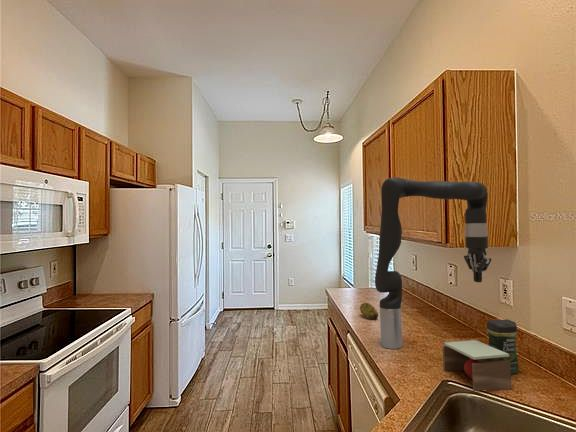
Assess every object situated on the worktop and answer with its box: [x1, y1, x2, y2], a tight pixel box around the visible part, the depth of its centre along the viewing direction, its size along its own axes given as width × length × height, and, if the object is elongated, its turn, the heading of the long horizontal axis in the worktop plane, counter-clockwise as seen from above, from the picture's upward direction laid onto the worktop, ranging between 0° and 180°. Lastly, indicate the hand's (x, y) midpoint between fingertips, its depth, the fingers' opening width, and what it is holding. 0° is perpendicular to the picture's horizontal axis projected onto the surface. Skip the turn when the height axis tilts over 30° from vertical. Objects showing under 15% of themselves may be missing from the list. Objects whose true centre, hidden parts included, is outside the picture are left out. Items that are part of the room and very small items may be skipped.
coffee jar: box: [486, 318, 520, 375], centre depth 132 cm, size 10×8×19 cm
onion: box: [464, 358, 480, 380], centre depth 126 cm, size 6×6×8 cm
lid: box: [442, 339, 509, 360], centre depth 126 cm, size 18×13×1 cm
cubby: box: [442, 345, 512, 392], centre depth 126 cm, size 18×13×9 cm
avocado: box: [359, 302, 379, 320], centre depth 209 cm, size 8×13×8 cm, turn 4°
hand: (477, 281), depth 134 cm, fingers closed
